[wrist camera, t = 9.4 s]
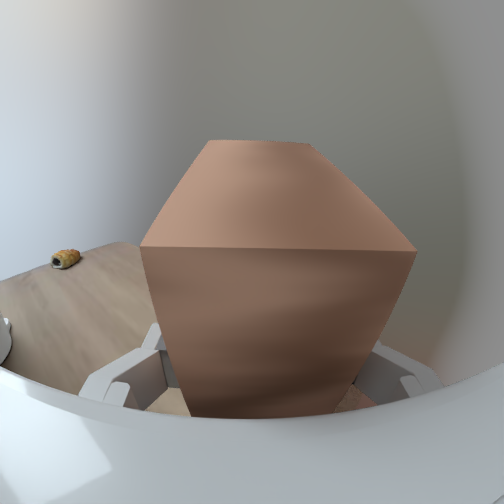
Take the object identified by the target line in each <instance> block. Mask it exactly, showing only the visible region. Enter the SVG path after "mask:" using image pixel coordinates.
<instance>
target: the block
mask: <svg viewBox="0 0 504 504" xmlns="http://www.w3.org/2000/svg"><path fill="white" fill-rule="evenodd" d="M139 247H140V252H141V257H142V261H143V266H144V270H145V274H146V279H147V283H148V287H149V291H150V295H151V298H152V302H153V306H154V309H155V313H156V317H157V320H158V323H159V327H160V330H161V334H162V337H163V340H164V343H165V346H166V349H167V352H168V355H169V358H170V361H171V364H172V367H173V370H174V373H175V376H176V378H177V381H178V384H179V387H180V389H181V392H182V394H183V397H184V400H185V402H186V405H187V407H188V409H189V412H190V414H191V417H201V418H219V419H274V418H292V417H304V416H314V415H323V414H331V413H332V412H333V411H334V410H335V408H336V407H337V405H338V404H339V402H340V401H341V399H342V398H343V396H344V395H345V393H346V392H347V390H348V389H349V387H350V386H351V384H352V383H353V381H354V379H355V378H356V376H357V375H358V373H359V371H360V370H361V368H362V366H363V365H364V363H365V361H366V360H367V358H368V356H369V354H370V353H371V351H372V349H373V347H374V346H375V344H376V342H377V340H378V338H379V336H380V334H381V332H382V331H383V329H384V327H385V325H386V322H387V321H388V319H389V317H390V315H391V313H392V310H393V308H394V306H395V304H396V302H397V300H398V298H399V295H400V293H401V291H402V289H403V286H404V284H405V282H406V279H407V277H408V274H409V272H410V270H411V267H412V265H413V262H414V259H415V257H416V254H417V250H416V249H415V248H414V247H413V245H412V244H411V243H410V242H409V241H408V240H407V239H406V238H405V236H404V235H403V234H402V233H401V232H400V231H399V230H398V228H397V227H396V226H395V225H394V224H393V223H392V222H391V221H390V220H389V219H388V218H387V217H386V215H385V214H383V212H382V211H381V210H380V209H379V208H378V207H377V206H376V205H375V204H374V203H373V202H372V201H371V200H370V199H369V198H368V197H367V196H366V195H365V194H364V193H363V192H362V191H361V190H360V189H359V188H358V187H357V186H356V185H355V184H354V183H353V182H352V181H351V180H349V179H348V178H347V177H346V176H345V175H344V174H343V173H342V172H341V171H340V170H339V169H337V168H336V167H335V166H334V165H333V164H332V163H331V162H330V161H328V160H327V159H326V158H325V157H324V156H323V155H322V154H321V153H319V152H318V151H317V150H316V149H315V148H313V147H312V146H311V145H310V144H304V143H292V142H276V141H252V140H209V142H208V143H207V144H206V146H205V147H204V149H203V150H202V151H201V152H200V154H199V155H198V157H197V158H196V159H195V161H194V162H193V163H192V165H191V166H190V168H189V169H188V171H187V172H186V174H185V175H184V176H183V178H182V179H181V181H180V182H179V184H178V185H177V187H176V188H175V190H174V191H173V193H172V194H171V196H170V197H169V199H168V200H167V202H166V203H165V205H164V207H163V208H162V210H161V212H160V213H159V214H158V216H157V218H156V219H155V221H154V223H153V224H152V226H151V227H150V229H149V231H148V232H147V234H146V236H145V237H144V239H143V241H142V243H141V244H140V246H139Z"/></svg>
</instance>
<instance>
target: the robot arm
mask: <svg viewBox="0 0 504 504" xmlns="http://www.w3.org/2000/svg"><path fill="white" fill-rule="evenodd" d="M10 326H11V324H10V322H9V320H8V319H7V318H3V316H2V314H1V312H0V364H1V363H2V362H3V361H4V359H5V358H6V356H7V355H8V353H9V351H10V348H11V342H12V341H11V336H10V333H9V330H10ZM352 384H354V386H356V387H357V388H358V389H359V390H360V391H362V392H363V393H364V394H365V395H366V396H368V397H369V398H370V399H372V400H373V401H374V402H375V403H376V404H378V405H377V406H373V407H368V408H363V409H357V410H351V411H345V412H338V413H331V414H323V415H314V416H304V417H292V418H274V419H219V418H201V417H188V416H178V415H169V414H162V413H155V412H148V411H144V410H145V409H146V408H147V407H149V406H150V405H151V404H152V403H153V402H154V401H155V400H156V399H157V398H158V397H159V396H160V395H161V394H163V393H164V392H165V391H166V390H167V389H168V387H169V388H180V387H179V384H178V381H177V378H176V376H175V373H174V370H173V367H172V364H171V361H170V358H169V355H168V352H167V349H166V346H165V343H164V340H163V337H162V334H161V330H160V327H159V323H153V324H152V325H151V327H150V329H149V332H148V334H147V336H146V338H145V340H144V342H143V344H142V346H141V348H136V349H134V350H132V351H131V352H129V353H127V354H125V355H124V356H122V357H120V358H118V359H117V360H115V361H113V362H111V363H110V364H108V365H106V366H104V367H103V368H101V369H99V370H97V371H95V372H94V373H92V374H90V375H89V377H88V378H87V380H86V382H85V384H84V385H83V387H82V389H81V391H80V393H79V394H78V396H77V395H73V394H70V393H67V392H64V391H61V390H58V389H55V388H52V387H49V386H46V385H43V384H41V383H38V382H35V381H33V380H30V379H28V378H25V377H23V376H20V375H18V374H16V373H13V372H11V371H9V370H7V369H5V368H3V367H0V504H504V362H502V363H501V364H498V365H496V366H494V367H492V368H490V369H488V370H486V371H483V372H481V373H479V374H476V375H474V376H472V377H469V378H467V379H464V380H462V381H459V382H456V383H454V384H451V385H448V386H444V385H443V384H442V382H441V381H440V379H439V378H438V377H437V375H436V374H435V372H434V371H433V369H431V368H429V367H427V366H425V365H423V364H421V363H419V362H417V361H415V360H413V359H411V358H409V357H407V356H405V355H403V354H401V353H399V352H397V351H395V350H393V349H391V348H390V347H388V346H382V344H381V343H380V341H379V340H377V342H376V344H375V346H374V347H373V349H372V351H371V353H370V354H369V356H368V358H367V360H366V361H365V363H364V365H363V366H362V368H361V370H360V371H359V373H358V375H357V376H356V378H355V379H354V381H353V383H352ZM352 384H351V385H352Z"/></svg>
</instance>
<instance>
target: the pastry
mask: <svg viewBox="0 0 504 504" xmlns="http://www.w3.org/2000/svg"><path fill="white" fill-rule="evenodd" d="M79 259H80V252H79V251H77V250H74V249H71V250H61V251H59V252H58V253H55V254H54V255H53V256H52V257H51V260H50V265H51V266H52V268H57V269H58V268H59V269H64V268H68V267H70V265H72V264H75V263H76V262H77V261H78V260H79Z"/></svg>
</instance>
